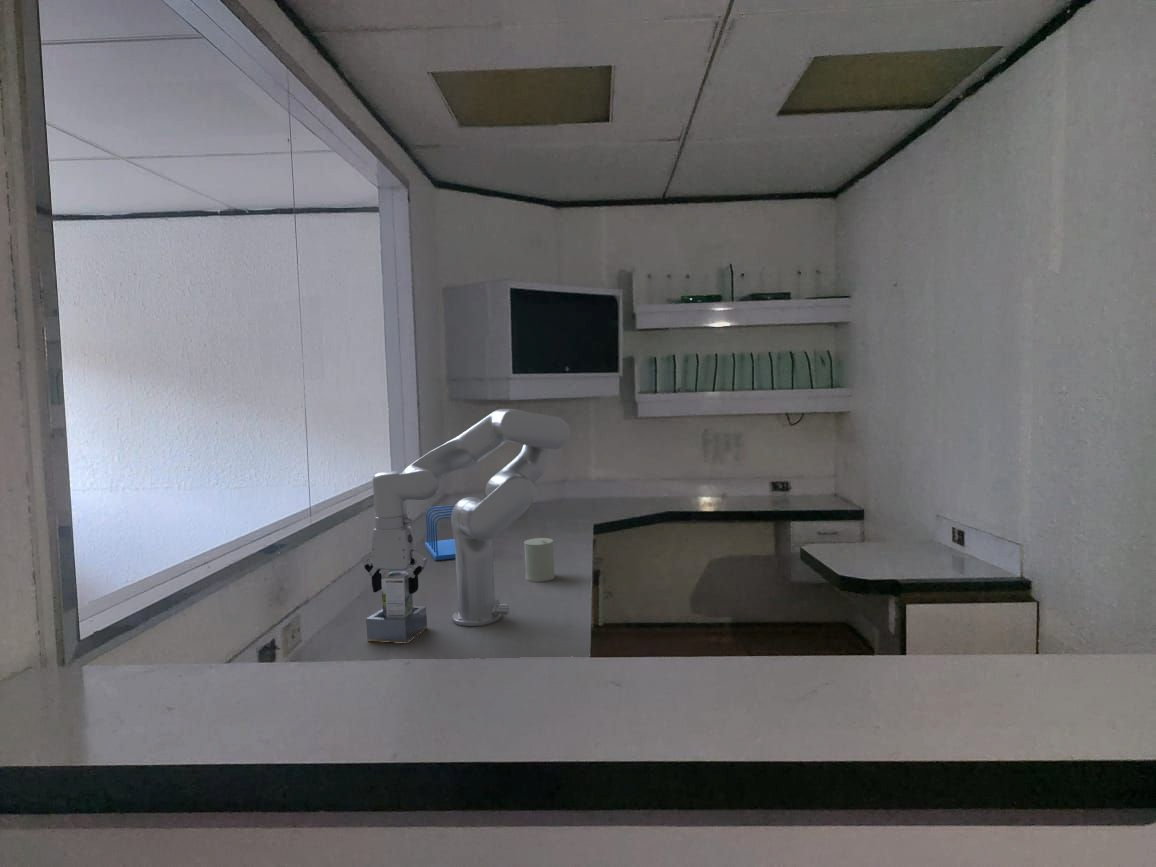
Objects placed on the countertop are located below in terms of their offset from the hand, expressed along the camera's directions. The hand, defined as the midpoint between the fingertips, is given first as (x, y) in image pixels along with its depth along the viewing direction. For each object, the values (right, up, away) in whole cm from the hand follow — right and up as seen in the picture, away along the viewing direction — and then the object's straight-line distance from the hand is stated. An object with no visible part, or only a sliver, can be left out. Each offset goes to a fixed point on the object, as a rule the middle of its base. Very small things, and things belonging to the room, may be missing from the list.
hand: (395, 591), depth 165 cm
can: (+33, -7, +46) cm, 57 cm away
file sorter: (-2, -5, +85) cm, 85 cm away
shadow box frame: (0, -11, +1) cm, 11 cm away
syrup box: (+1, -10, +1) cm, 10 cm away
